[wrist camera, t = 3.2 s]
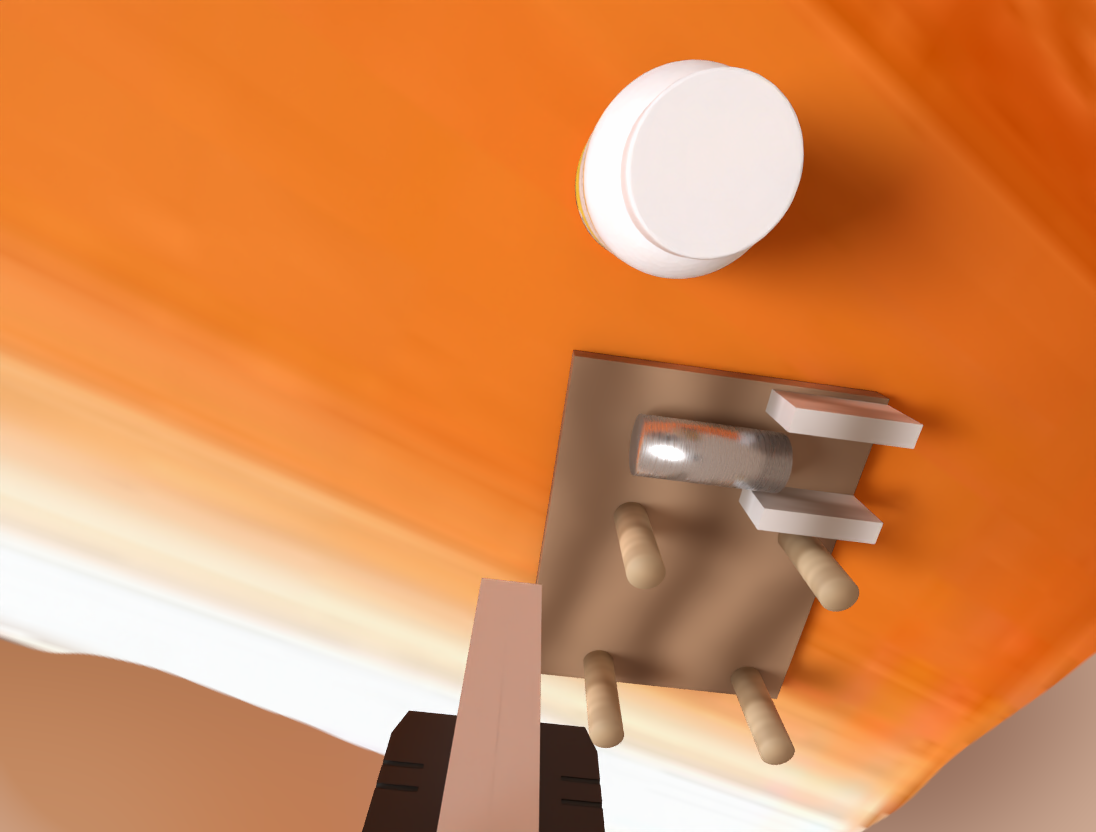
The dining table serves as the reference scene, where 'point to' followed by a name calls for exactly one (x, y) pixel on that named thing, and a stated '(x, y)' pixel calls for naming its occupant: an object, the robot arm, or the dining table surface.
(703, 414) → the board
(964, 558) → the dining table surface
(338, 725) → the dining table surface
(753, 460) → the pin
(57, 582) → the dining table surface
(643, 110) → the pill bottle
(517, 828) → the robot arm
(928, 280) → the dining table surface
